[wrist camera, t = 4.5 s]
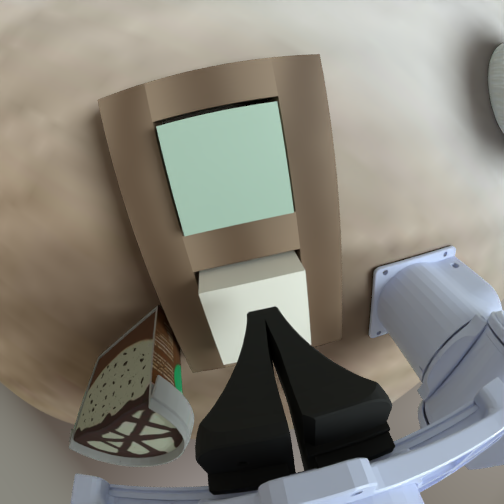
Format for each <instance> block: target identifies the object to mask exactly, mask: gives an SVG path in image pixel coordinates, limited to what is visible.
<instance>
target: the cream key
mask: <svg viewBox="0 0 504 504" xmlns="http://www.w3.org/2000/svg"><path fill="white" fill-rule="evenodd" d="M198 294H199V297H200V300H201V303H202V306H203V309H204V312H205V315H206V318H207V320H208V323H209V326H210V329H211V332H212V334H213V337H214V340H215V343H216V345H217V348H218V351H219V354H220V356H221V359H222V362H223V364H224V365H225V364H231V363H236V362H237V361H238V358H239V355H240V352H241V348H242V345H243V341H244V336H245V331H246V325H247V313H248V312H251V311H255V310H260V309H265V308H270V307H274V306H276V307H277V308H278V309H279V310H280V312H281V313H282V315H283V316H284V318H285V319H286V320H287V321H288V322H289V324H290V325H291V326H292V327H293V328H294V329H295V330H296V331H297V332H298V333H299V335H300V336H301V337H303V338H304V339H305V340H306V341H307V342H308V343H309V344H310V345H311V333H310V319H309V306H308V294H307V283H306V272H305V269H304V267H303V265H302V264H301V262H300V260H299V258H298V257H297V255H296V253H295V251H294V250H293V251H289V252H284V253H280V254H275V255H271V256H266V257H262V258H257V259H253V260H248V261H244V262H239V263H234V264H230V265H225V266H221V267H216V268H212V269H207V270H202V271H199V292H198Z"/></svg>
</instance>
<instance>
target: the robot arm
mask: <svg viewBox="0 0 504 504" xmlns="http://www.w3.org/2000/svg"><path fill="white" fill-rule="evenodd" d="M455 251H456V249H455V247H453V246H449V247H445V248H442V249H439V250H436V251H432V252H429V253H426V254H422V255H419V256H416V257H412V258H409V259H405V260H402V261H398V262H395V263H391V264H388V265H384V266H381V267H378V268H376V269H375V270H374V273H373V289H372V303H371V315H370V325H369V336H370V338H375V337H378V336H381V335H384V334H387V333H389V334H390V336H391V337H392V339H393V340H394V342H395V343H396V344H397V346H398V347H399V349H400V350H401V352H402V353H403V355H404V356H405V358H406V359H407V361H408V362H409V364H410V365H411V367H412V368H413V370H414V371H415V373H416V374H417V376H418V377H419V379H420V380H421V382H422V385H421V386H420V387H419V389H418V390H417V391H418V393H419V394H420V396H421V398H422V399H423V400H422V401H421V403H420V405H419V407H418V420H419V424H420V428H421V429H420V430H418V431H416V432H414V433H411V434H409V435H407V436H405V437H403V438H401V439H398V440H396V441H393V440H392V438H391V436H390V433H389V430H390V427H389V425H388V424H387V419H388V416H389V414H390V411H391V408H392V403H391V401H390V399H389V397H388V395H387V394H386V393H385V391H384V390H383V389H382V387H381V386H380V385H379V384H378V383H377V382H374V381H371V380H369V379H366V378H363V377H361V376H359V375H356V374H354V373H352V372H350V371H348V370H347V369H345V368H343V367H341V366H340V365H338V364H336V363H334V362H333V361H331V360H330V359H328V358H327V357H325V356H324V355H323V354H321V353H320V352H319V351H317V350H316V349H315V348H314V347H312V346H311V345H310V344H309V343H308V342H307V341H306V340H305V339H304V338H303V337H301V336H300V335H299V333H298V332H297V331H296V330H295V329H294V328H293V327H292V326H291V325H290V324H289V322H288V321H287V320H286V319H285V318H284V316H283V315H282V313H281V312H280V310H279V309H278V308H277V307H276V306H274V307H270V308H265V309H260V310H255V311H251V312H248V313H247V325H246V331H245V336H244V341H243V345H242V348H241V352H240V355H239V358H238V361H237V364H236V366H235V369H234V371H233V373H232V375H231V378H230V380H229V381H228V383H227V385H226V387H225V389H224V391H223V393H222V394H221V396H220V397H219V399H218V400H217V402H216V403H215V405H214V406H213V408H212V409H211V411H210V412H209V413H208V414H207V416H206V417H205V418H204V419H203V420H202V422H201V423H200V424H199V428H198V432H197V437H196V445H195V450H196V461H197V463H198V464H199V465H200V466H201V467H202V468H203V469H204V470H205V471H206V472H207V473H208V484H209V486H201V487H141V486H140V487H139V486H126V485H116V484H109V483H108V482H107V481H105V480H104V479H102V478H99V477H96V476H90V475H83V474H75V478H74V484H73V491H72V498H71V504H424V502H423V499H422V497H421V495H420V492H421V491H423V490H425V489H427V488H429V487H430V486H432V485H434V484H436V483H437V482H439V481H441V480H442V479H444V478H446V477H447V476H449V475H450V474H452V473H453V472H455V471H456V470H458V469H459V468H461V467H462V466H465V467H467V468H468V469H470V470H473V469H482V468H488V467H494V466H499V465H504V311H503V310H502V306H501V302H500V300H499V297H498V295H497V293H496V291H495V290H494V289H493V287H492V286H491V285H490V284H489V283H487V282H486V281H485V280H484V279H483V278H481V277H480V276H479V275H478V274H477V273H475V272H474V271H473V270H472V269H470V268H469V267H468V266H467V265H465V264H464V263H463V262H461V261H460V260H459V259H458V258H456V257H455ZM385 270H386V271H385ZM384 271H385V272H384ZM383 272H384V273H383ZM272 360H273V361H272ZM273 363H274V366H275V369H276V371H277V374H278V377H279V380H280V382H281V385H282V388H283V391H284V393H285V396H286V399H287V402H288V406H289V410H290V414H291V418H292V422H293V426H294V430H295V434H296V437H297V442H298V446H299V450H300V454H301V458H302V463H303V467H304V471H303V472H298V473H296V472H295V465H294V457H293V450H292V443H291V437H290V432H289V428H288V424H287V420H286V417H285V413H284V410H283V406H282V403H281V399H280V395H279V392H278V388H277V384H276V381H275V377H274V369H273Z"/></svg>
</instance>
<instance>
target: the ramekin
mask: <svg viewBox="0 0 504 504" xmlns="http://www.w3.org/2000/svg"><path fill="white" fill-rule="evenodd" d="M488 87H489V95H490V100H491V105H492V109H493V112H494V115H495V118H496V121H497V123H498V125H499V127H500V129H501V130H502V132H503V133H504V43H502V44H500V45H499V46H498V47H497V48H496V50H495V51H494V53H493V54H492V56H491V59H490V62H489V68H488Z"/></svg>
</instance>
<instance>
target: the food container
mask: <svg viewBox="0 0 504 504" xmlns="http://www.w3.org/2000/svg"><path fill="white" fill-rule="evenodd" d="M193 425H194V414H193V410H192V408H191V406H190V404H189V402H188V400H187V399H186V398H185V397H184V396H183V394H182V379H181V363H180V345H179V343H178V341H177V339H176V337H175V335H174V332H173V330H172V328H171V326H170V323H169V321H168V319H167V317H166V314H165V312H164V310H163V309H162V308H161V307H160V306H159V305H158V306H156V307H155V308H154V309H153V310H152V311H151V312H149V313H148V314H147V315H146V316H145V317H144V318H142V319H141V320H140V321H139V322H138V323H137V324H135V325H134V326H133V327H132V328H131V329H130V330H128V331H127V332H126V333H125V334H124V335H123V336H122V337H120V338H119V339H118V340H117V341H116V342H115V343H113V344H112V345H111V346H110V347H109V348H108V349H107V350H105V351H104V352H103V353H102V354H101V355H100V356H99V357H98V359H97V361H96V364H95V367H94V369H93V372H92V375H91V378H90V380H89V383H88V386H87V389H86V392H85V395H84V398H83V401H82V404H81V407H80V410H79V413H78V416H77V420H76V423H75V427H74V429H71V433H70V439H69V442H70V444H69V448H70V449H72V450H74V451H76V452H78V453H80V454H82V455H85V456H87V457H90V458H93V459H96V460H99V461H103V462H107V463H111V464H116V465H122V466H132V467H150V466H158V465H162V464H166V463H169V462H172V461H174V460H176V459H177V458H178V457H180V456H181V455H182V454H183V452H184V450H185V448H186V447H187V445H188V443H189V441H190V437H191V433H192V429H193Z"/></svg>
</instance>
